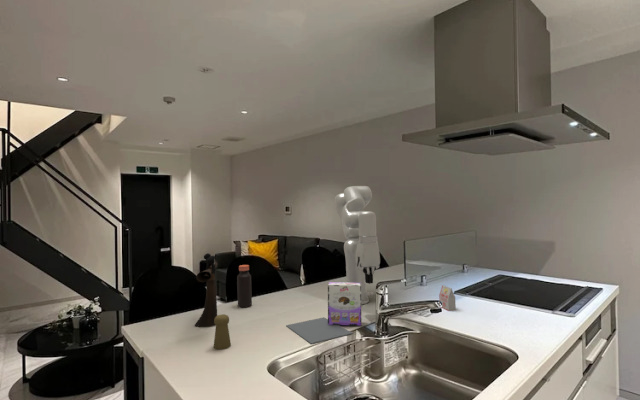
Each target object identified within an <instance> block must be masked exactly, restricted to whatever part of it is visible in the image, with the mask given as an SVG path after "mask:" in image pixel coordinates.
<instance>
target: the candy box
mask: <svg viewBox="0 0 640 400" xmlns="http://www.w3.org/2000/svg"><path fill="white" fill-rule="evenodd" d="M327 319H328V325H339V326H362V304H361V283H347V282H343V281H342V282H339V281H337V282H335V281H334V282H333V281H328V284H327Z"/></svg>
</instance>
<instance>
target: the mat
mask: <svg viewBox="0 0 640 400" xmlns="http://www.w3.org/2000/svg"><path fill="white" fill-rule="evenodd" d="M285 327H286V328H288V329H289V330H290V331H292V332H293V333H295V335H298V336H299V337H300V338H302V339H303V340H304V341H306V342H307V343H308V344H310V345H314V344H318V343H321V342H327V341H330V340H334V339H338V338H342V337H347V336H350V335H353V334H354V333H353V332H352V331H350V330H348V329H346V328H344V327H342V325H328V318H326V317H319V318H314V319H310V320H305V321H300V322H295V323H290V324H286V325H285Z"/></svg>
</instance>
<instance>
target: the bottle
mask: <svg viewBox="0 0 640 400" xmlns="http://www.w3.org/2000/svg"><path fill="white" fill-rule="evenodd" d="M238 271H239V273H238V275H237V276H236V286H237V288H236V289H237V307H238V308H242V309H244V308H249V307H251V306H253V301H252V300H253V299H252V298H253V297H252V296H253V295H252V275H251V274H250V272H249V271H250V265H249V264H242V265H241V264H240V265H239V266H238Z"/></svg>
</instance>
